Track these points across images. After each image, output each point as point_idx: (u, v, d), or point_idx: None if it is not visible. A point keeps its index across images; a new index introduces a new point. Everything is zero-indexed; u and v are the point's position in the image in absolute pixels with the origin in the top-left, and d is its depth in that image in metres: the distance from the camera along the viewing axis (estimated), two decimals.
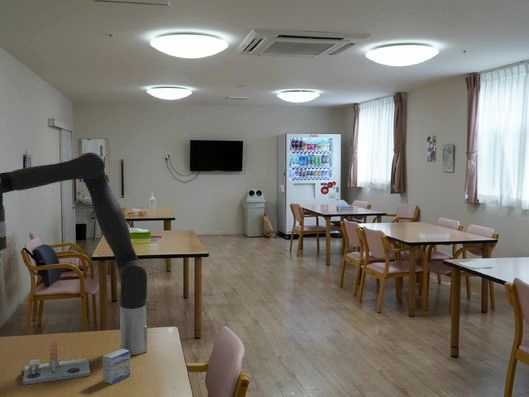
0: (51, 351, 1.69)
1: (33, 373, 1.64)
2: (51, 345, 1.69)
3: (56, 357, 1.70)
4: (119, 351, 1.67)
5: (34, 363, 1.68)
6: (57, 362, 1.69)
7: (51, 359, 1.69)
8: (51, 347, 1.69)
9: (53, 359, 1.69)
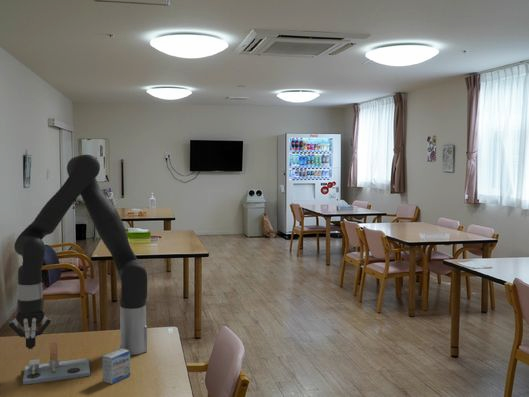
0: (51, 351, 1.69)
1: (33, 373, 1.64)
2: (51, 345, 1.69)
3: (56, 357, 1.70)
4: (119, 351, 1.67)
5: (34, 363, 1.68)
6: (57, 362, 1.69)
7: (51, 359, 1.69)
8: (51, 347, 1.69)
9: (53, 359, 1.69)
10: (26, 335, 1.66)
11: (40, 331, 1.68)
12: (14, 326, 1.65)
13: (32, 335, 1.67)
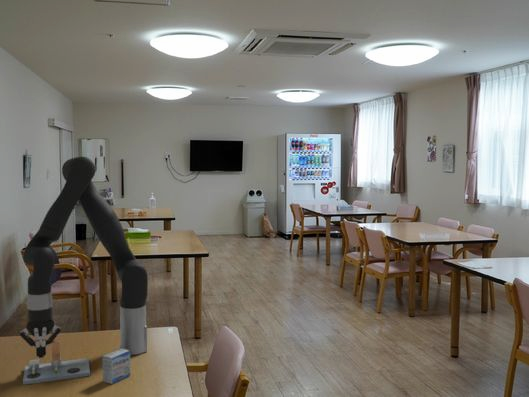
0: (53, 350, 1.69)
1: (33, 373, 1.64)
2: (53, 345, 1.69)
3: (58, 357, 1.70)
4: (119, 351, 1.67)
5: (34, 363, 1.68)
6: (60, 362, 1.70)
7: (53, 359, 1.69)
8: (53, 347, 1.69)
9: (55, 359, 1.69)
10: (37, 344, 1.67)
11: (50, 340, 1.69)
12: (25, 335, 1.66)
13: (42, 344, 1.68)
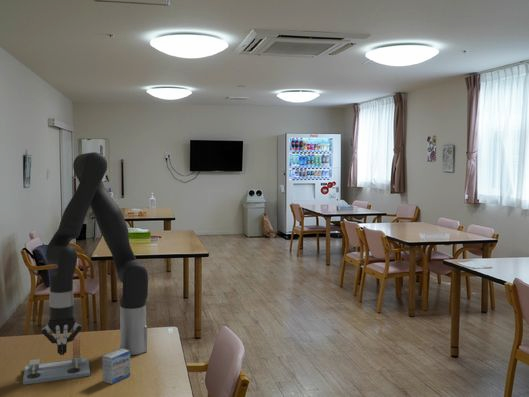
0: (74, 348, 1.71)
1: (33, 373, 1.64)
2: (74, 342, 1.71)
3: (79, 354, 1.72)
4: (119, 351, 1.67)
5: (34, 363, 1.68)
6: (80, 359, 1.72)
7: (74, 356, 1.72)
8: (74, 344, 1.71)
9: (76, 356, 1.72)
10: (58, 341, 1.70)
11: (71, 337, 1.71)
12: (46, 333, 1.68)
13: (64, 341, 1.70)
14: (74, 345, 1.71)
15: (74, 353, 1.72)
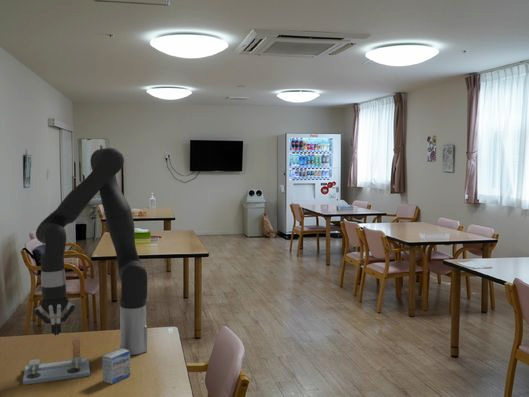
0: (74, 348, 1.71)
1: (33, 373, 1.64)
2: (74, 342, 1.71)
3: (79, 354, 1.72)
4: (119, 351, 1.67)
5: (34, 363, 1.68)
6: (80, 359, 1.72)
7: (74, 356, 1.72)
8: (74, 344, 1.71)
9: (76, 356, 1.72)
10: (52, 321, 1.68)
11: (65, 317, 1.69)
12: (39, 313, 1.66)
13: (57, 321, 1.69)
14: (74, 345, 1.71)
15: (74, 353, 1.72)
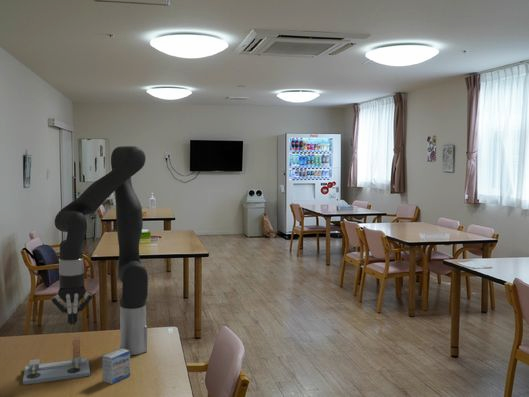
0: (74, 348, 1.71)
1: (33, 373, 1.64)
2: (74, 342, 1.71)
3: (79, 354, 1.72)
4: (119, 351, 1.67)
5: (34, 363, 1.68)
6: (80, 359, 1.72)
7: (74, 356, 1.72)
8: (74, 344, 1.71)
9: (76, 356, 1.72)
10: (68, 311, 1.66)
11: (82, 307, 1.67)
12: (56, 302, 1.64)
13: (74, 311, 1.66)
14: (74, 345, 1.71)
15: (74, 353, 1.72)
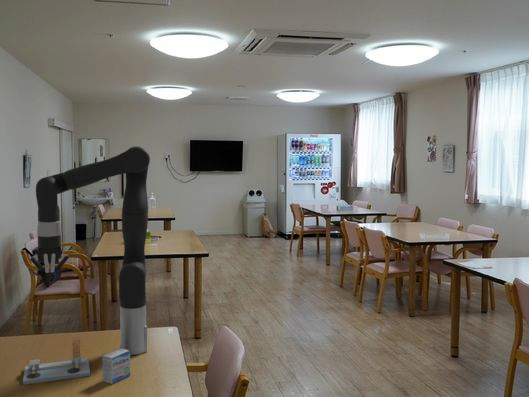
0: (74, 348, 1.71)
1: (33, 373, 1.64)
2: (74, 342, 1.71)
3: (79, 354, 1.72)
4: (119, 351, 1.67)
5: (34, 363, 1.68)
6: (80, 359, 1.72)
7: (74, 356, 1.72)
8: (74, 344, 1.71)
9: (76, 356, 1.72)
10: (46, 270, 1.79)
11: (59, 266, 1.80)
12: (35, 261, 1.77)
13: (51, 270, 1.79)
14: (74, 345, 1.71)
15: (74, 353, 1.72)
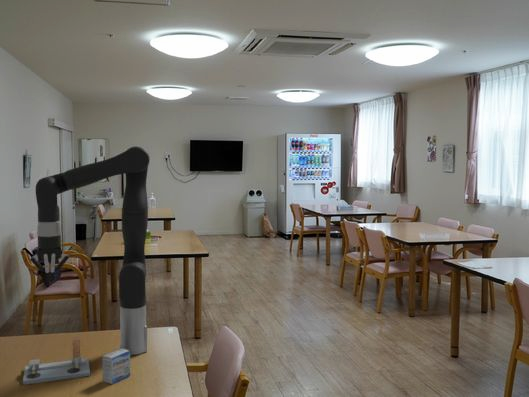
0: (74, 348, 1.71)
1: (33, 373, 1.64)
2: (74, 342, 1.71)
3: (79, 354, 1.72)
4: (119, 351, 1.67)
5: (34, 363, 1.68)
6: (80, 359, 1.72)
7: (74, 356, 1.72)
8: (74, 344, 1.71)
9: (76, 356, 1.72)
10: (46, 270, 1.79)
11: (59, 266, 1.80)
12: (35, 261, 1.77)
13: (52, 270, 1.80)
14: (74, 345, 1.71)
15: (74, 353, 1.72)
